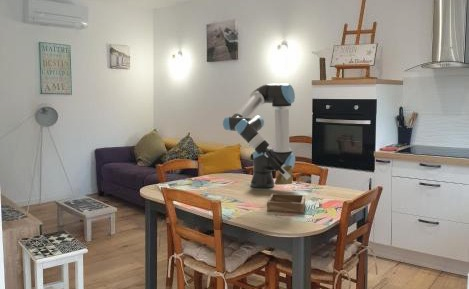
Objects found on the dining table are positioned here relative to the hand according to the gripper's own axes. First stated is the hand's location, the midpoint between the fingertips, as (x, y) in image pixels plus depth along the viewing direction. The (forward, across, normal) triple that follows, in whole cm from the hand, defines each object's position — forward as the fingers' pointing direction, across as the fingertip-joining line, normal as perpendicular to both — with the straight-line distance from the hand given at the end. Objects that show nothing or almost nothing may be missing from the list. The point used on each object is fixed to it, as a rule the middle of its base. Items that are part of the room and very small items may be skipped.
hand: (289, 176), depth 219 cm
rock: (+1, 0, -5) cm, 5 cm away
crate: (+11, 0, -13) cm, 17 cm away
